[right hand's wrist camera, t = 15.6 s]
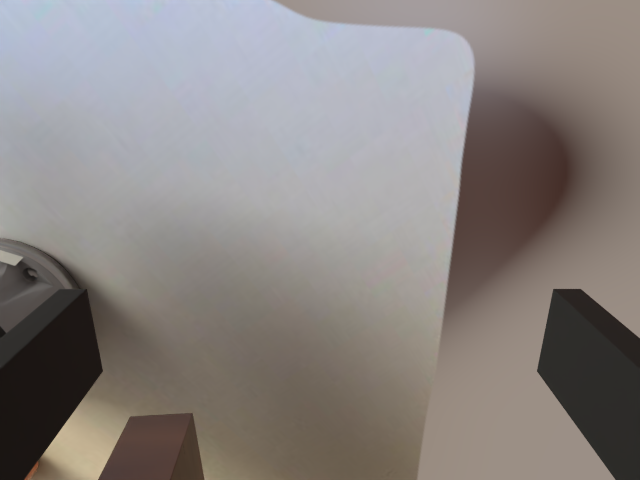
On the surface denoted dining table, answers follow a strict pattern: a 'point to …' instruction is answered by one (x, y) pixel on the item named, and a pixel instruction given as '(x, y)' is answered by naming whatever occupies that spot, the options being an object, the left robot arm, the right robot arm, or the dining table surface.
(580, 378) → the right robot arm
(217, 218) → the dining table surface
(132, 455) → the walnut bar
